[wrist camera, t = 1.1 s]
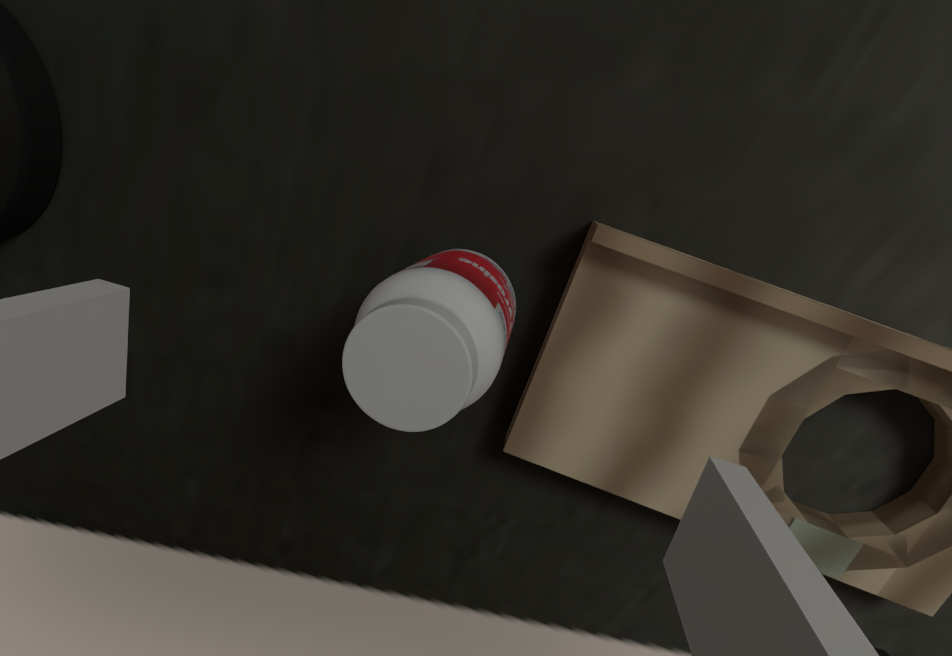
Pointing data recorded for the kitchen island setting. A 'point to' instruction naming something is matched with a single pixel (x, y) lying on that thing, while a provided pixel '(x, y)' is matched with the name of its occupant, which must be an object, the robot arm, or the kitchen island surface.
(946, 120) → the kitchen island surface
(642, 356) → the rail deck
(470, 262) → the pill bottle
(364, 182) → the kitchen island surface
